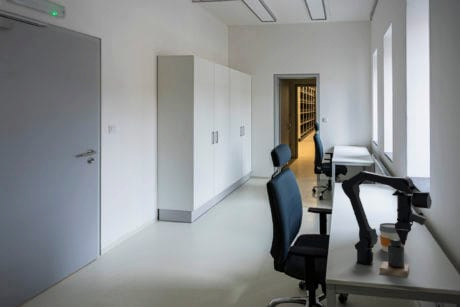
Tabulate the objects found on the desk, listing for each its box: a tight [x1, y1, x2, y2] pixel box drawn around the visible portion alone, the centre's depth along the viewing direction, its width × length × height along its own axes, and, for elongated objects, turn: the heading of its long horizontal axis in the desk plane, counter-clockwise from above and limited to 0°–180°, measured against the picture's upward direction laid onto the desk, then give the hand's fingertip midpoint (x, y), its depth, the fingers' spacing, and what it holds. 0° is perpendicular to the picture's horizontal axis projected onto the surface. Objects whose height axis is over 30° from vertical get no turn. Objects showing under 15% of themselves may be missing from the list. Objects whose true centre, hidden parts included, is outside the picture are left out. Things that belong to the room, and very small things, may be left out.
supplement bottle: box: [387, 238, 406, 268], centre depth 179 cm, size 7×7×12 cm
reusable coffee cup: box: [378, 222, 405, 253], centre depth 206 cm, size 13×13×15 cm
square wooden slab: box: [379, 261, 410, 278], centre depth 179 cm, size 11×11×3 cm
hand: (404, 242), depth 177 cm, fingers open, 9 cm apart
